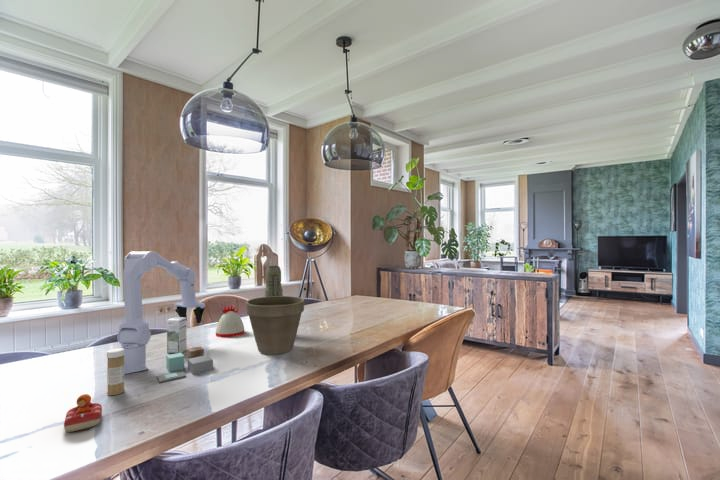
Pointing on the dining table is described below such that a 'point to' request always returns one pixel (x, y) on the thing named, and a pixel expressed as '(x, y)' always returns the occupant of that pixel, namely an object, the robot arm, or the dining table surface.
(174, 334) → the syrup box
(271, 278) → the green cactus
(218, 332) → the white domed piece
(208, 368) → the grey block
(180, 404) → the dining table surface
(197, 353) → the walnut block
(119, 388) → the sprinkles bottle
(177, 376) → the card
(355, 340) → the dining table surface
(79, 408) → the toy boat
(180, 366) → the teal block
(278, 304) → the plant pot
